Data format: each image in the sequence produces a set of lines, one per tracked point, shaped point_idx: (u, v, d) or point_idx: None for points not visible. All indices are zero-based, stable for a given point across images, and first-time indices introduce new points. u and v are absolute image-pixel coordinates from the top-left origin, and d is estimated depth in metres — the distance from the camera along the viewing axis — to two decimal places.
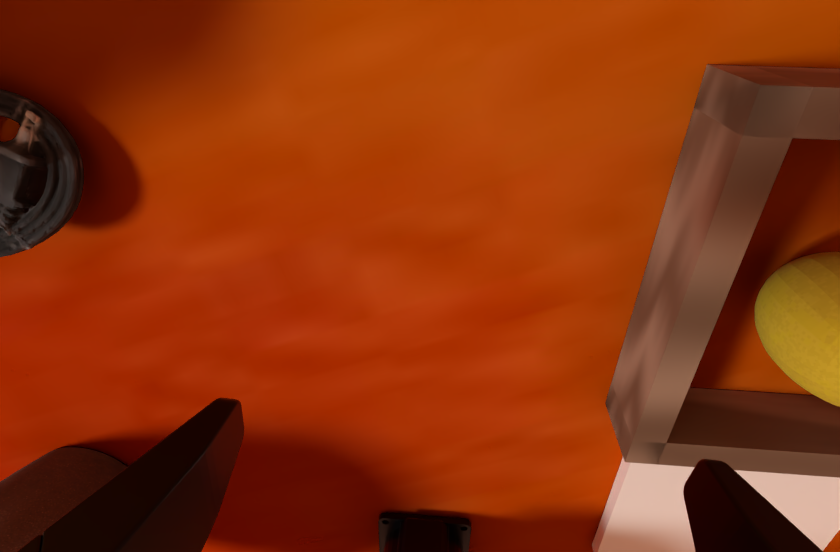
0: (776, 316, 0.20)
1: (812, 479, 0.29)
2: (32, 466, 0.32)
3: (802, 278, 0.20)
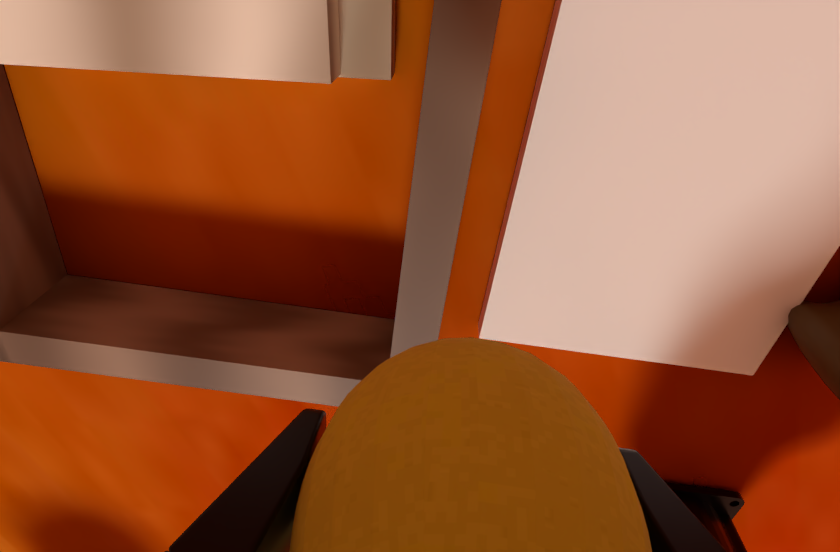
0: None
1: (603, 93, 0.16)
2: None
3: None
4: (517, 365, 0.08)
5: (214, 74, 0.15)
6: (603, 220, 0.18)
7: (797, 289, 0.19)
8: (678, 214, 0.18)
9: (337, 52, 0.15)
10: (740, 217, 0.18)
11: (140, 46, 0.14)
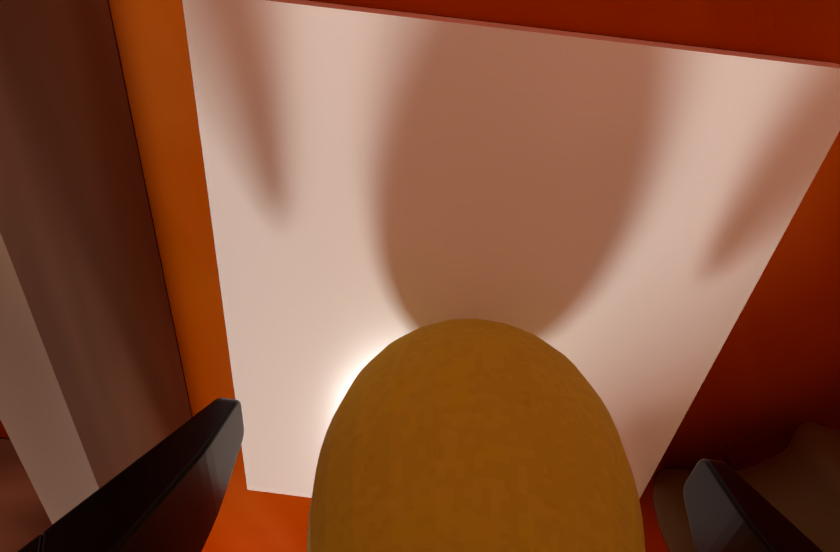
0: None
1: (299, 193, 0.10)
2: None
3: None
4: (519, 342, 0.08)
5: None
6: (358, 356, 0.13)
7: (653, 440, 0.14)
8: None
9: None
10: None
11: None
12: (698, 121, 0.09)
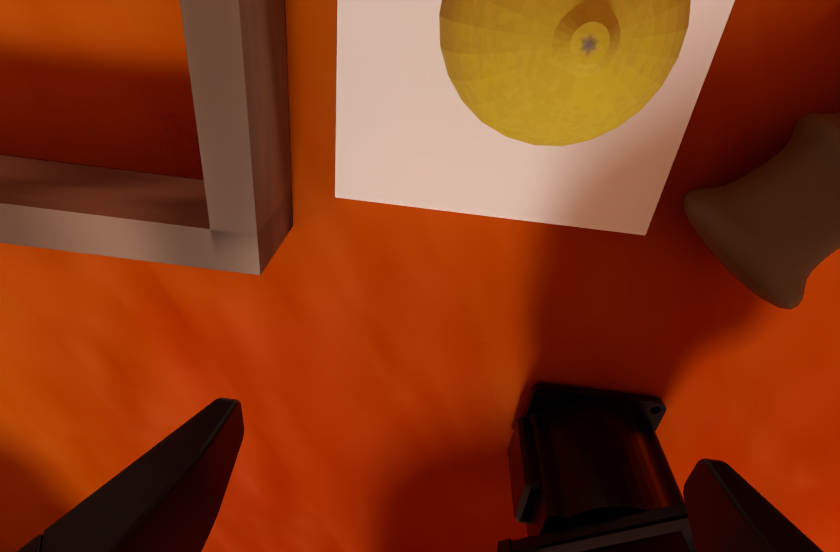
0: None
1: None
2: None
3: None
4: None
5: None
6: None
7: (676, 115, 0.17)
8: None
9: None
10: None
11: None
12: None
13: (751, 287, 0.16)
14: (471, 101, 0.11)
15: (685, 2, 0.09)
